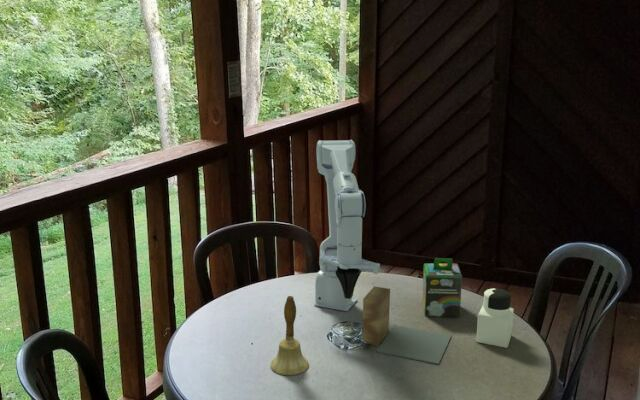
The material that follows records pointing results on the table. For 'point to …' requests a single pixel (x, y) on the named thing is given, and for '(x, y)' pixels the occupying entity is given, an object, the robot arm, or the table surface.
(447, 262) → the chalk box
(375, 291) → the tan rectangular block
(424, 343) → the mat
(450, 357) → the table surface
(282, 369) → the hand bell
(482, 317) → the medicine bottle
